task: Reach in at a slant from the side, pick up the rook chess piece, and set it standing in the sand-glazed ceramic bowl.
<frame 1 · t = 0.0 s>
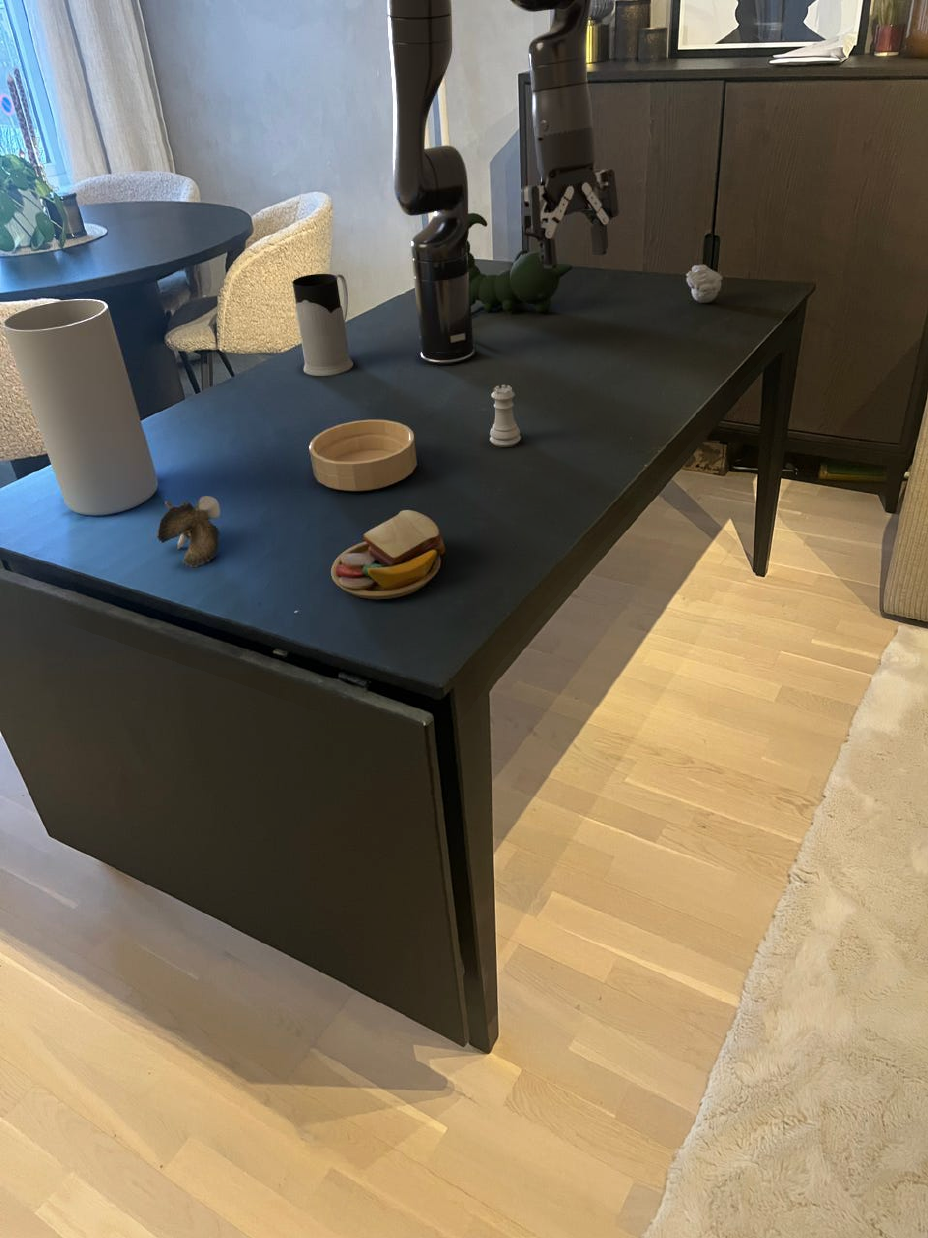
hand: (575, 261, 128), 22 cm above the table, tool pointing down, fingers open, 8 cm apart
bowl: (366, 470, 131), on the table
white lumpy rounded piece: (702, 303, 180), on the table
cylinder vase: (114, 497, 130), on the table
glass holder: (335, 362, 168), on the table
rook chess piece: (505, 442, 135), on the table
toy sandwich meal: (389, 571, 109), on the table
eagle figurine: (195, 549, 116), on the table
toy figurine: (511, 310, 185), on the table
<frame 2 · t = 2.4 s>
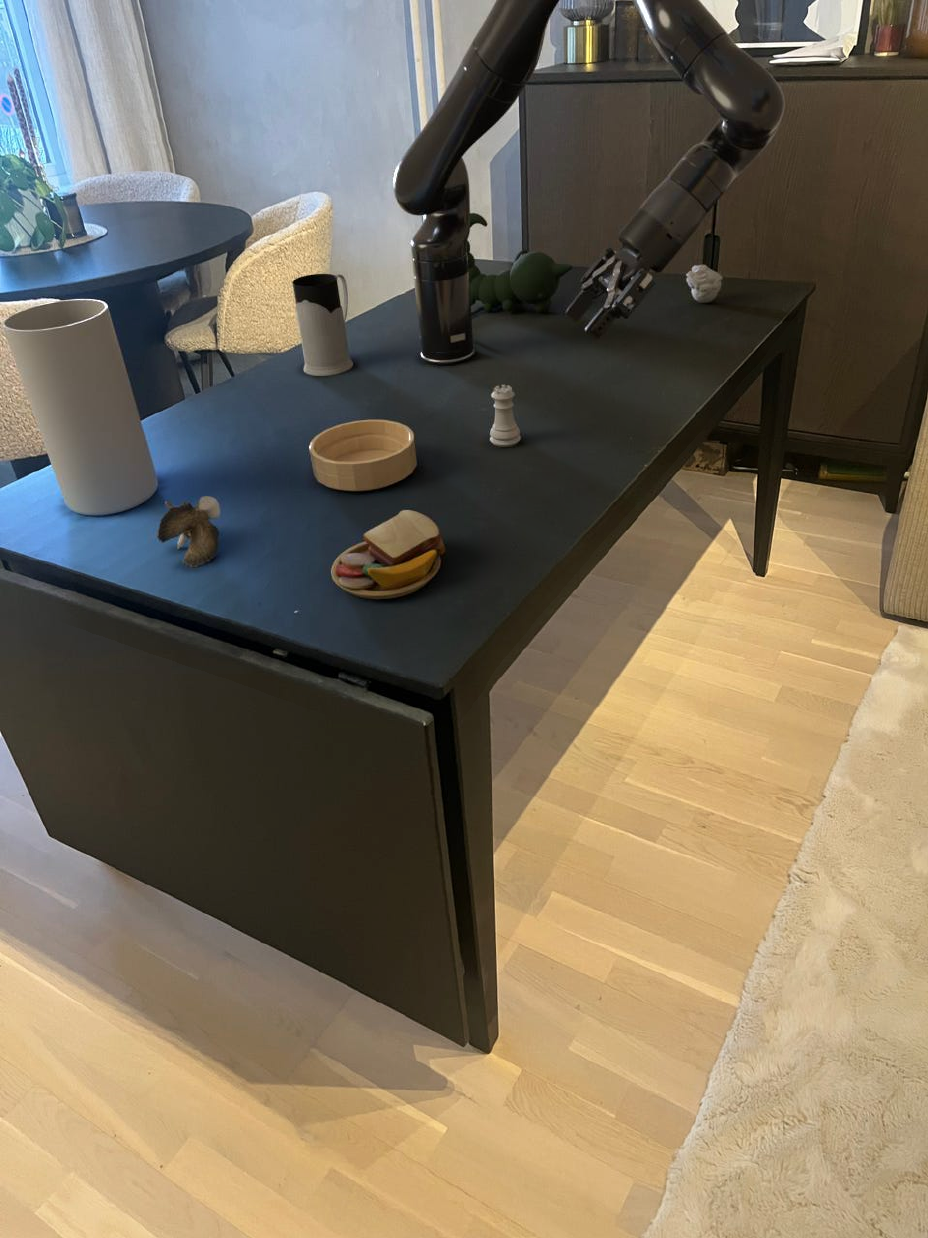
hand: (579, 326, 128), 15 cm above the table, tool tilted 45°, fingers open, 8 cm apart
nothing on the table moved.
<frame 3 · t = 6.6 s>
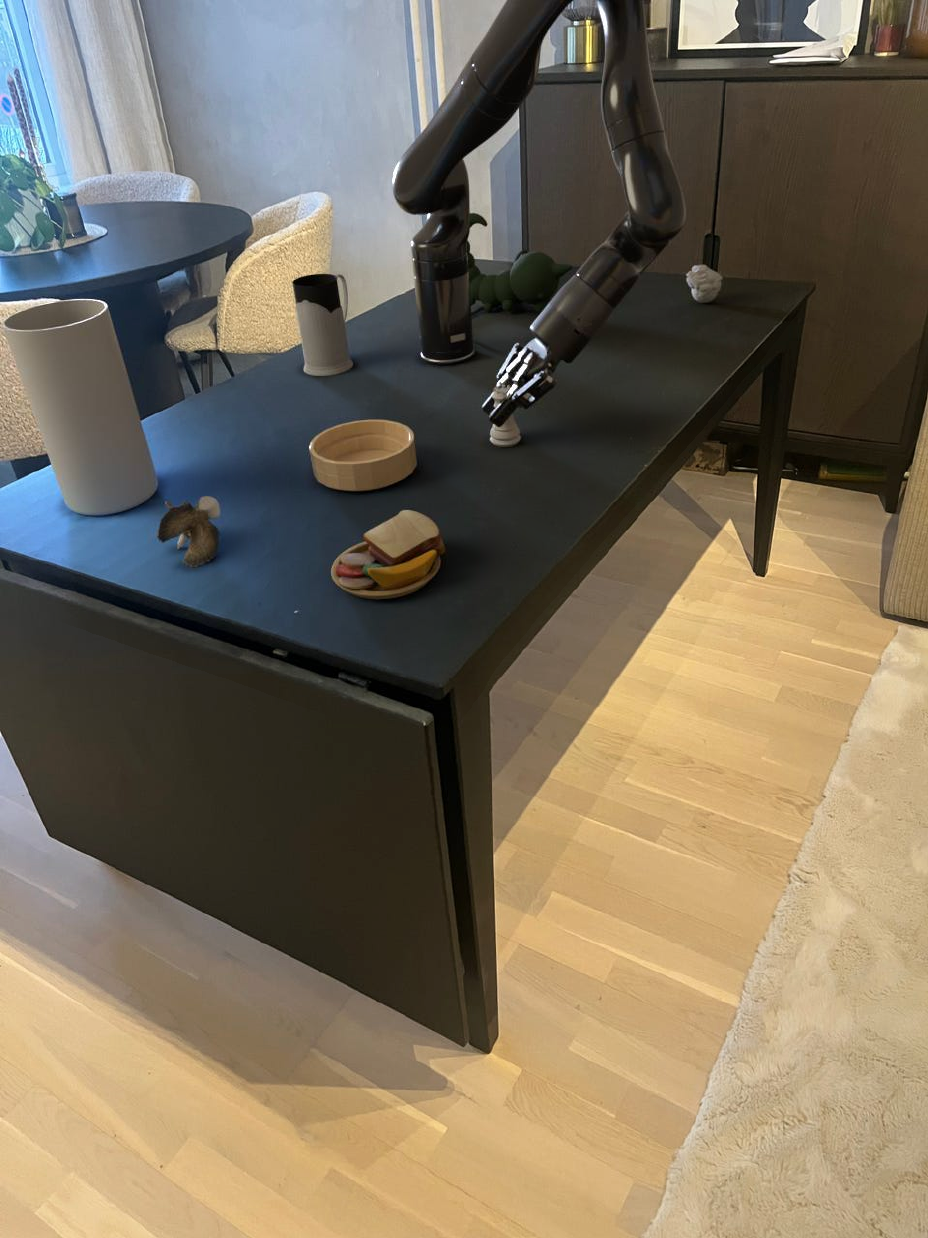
hand: (490, 417, 132), 4 cm above the table, tool tilted 45°, fingers closed on rook chess piece, 3 cm apart
rook chess piece: (505, 442, 135), on the table, touching gripper
everything else where it was.
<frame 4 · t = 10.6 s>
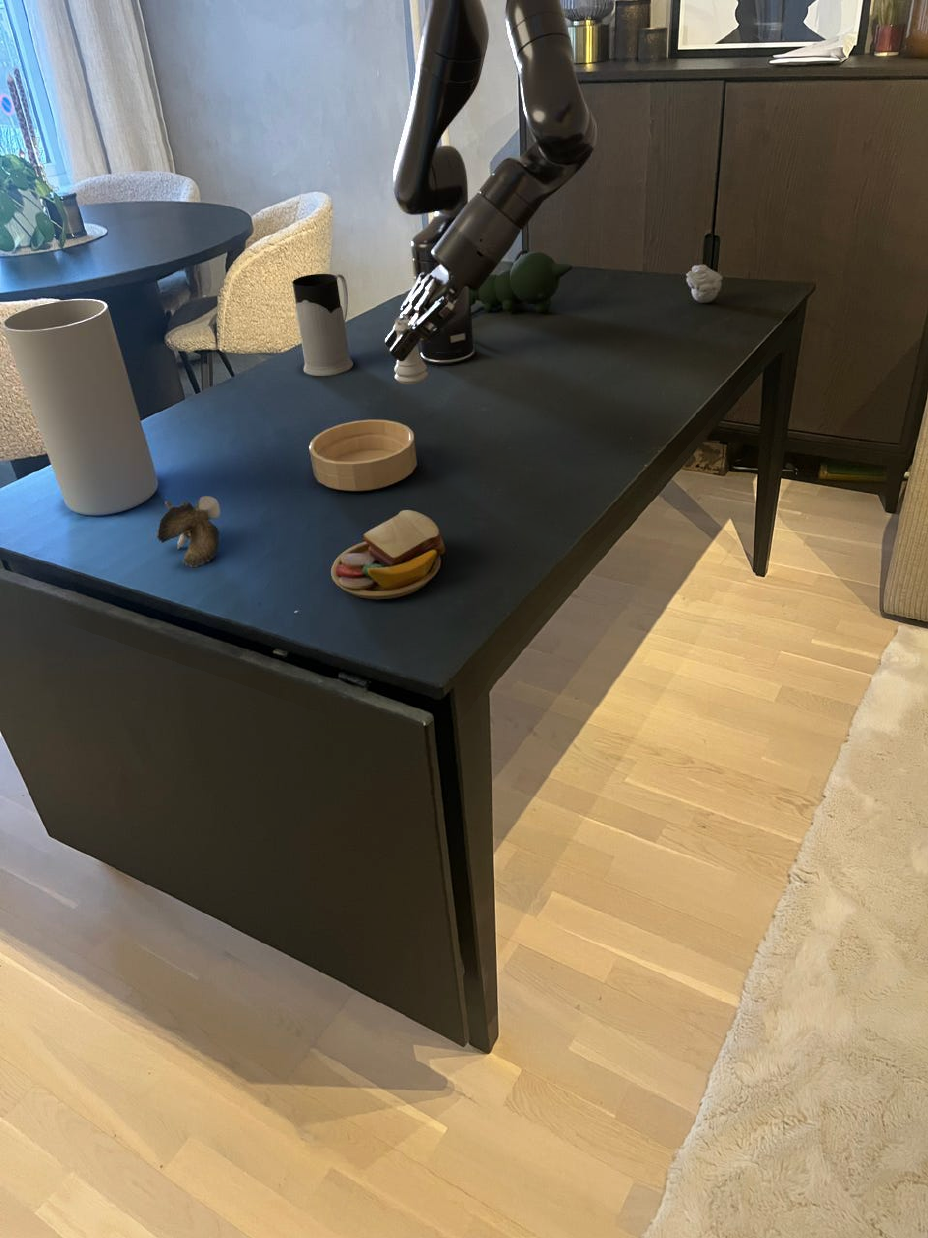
hand: (393, 351, 123), 16 cm above the table, tool tilted 45°, fingers closed on rook chess piece, 3 cm apart
rook chess piece: (411, 380, 126), point 12 cm above the table, touching gripper
everything else where it was.
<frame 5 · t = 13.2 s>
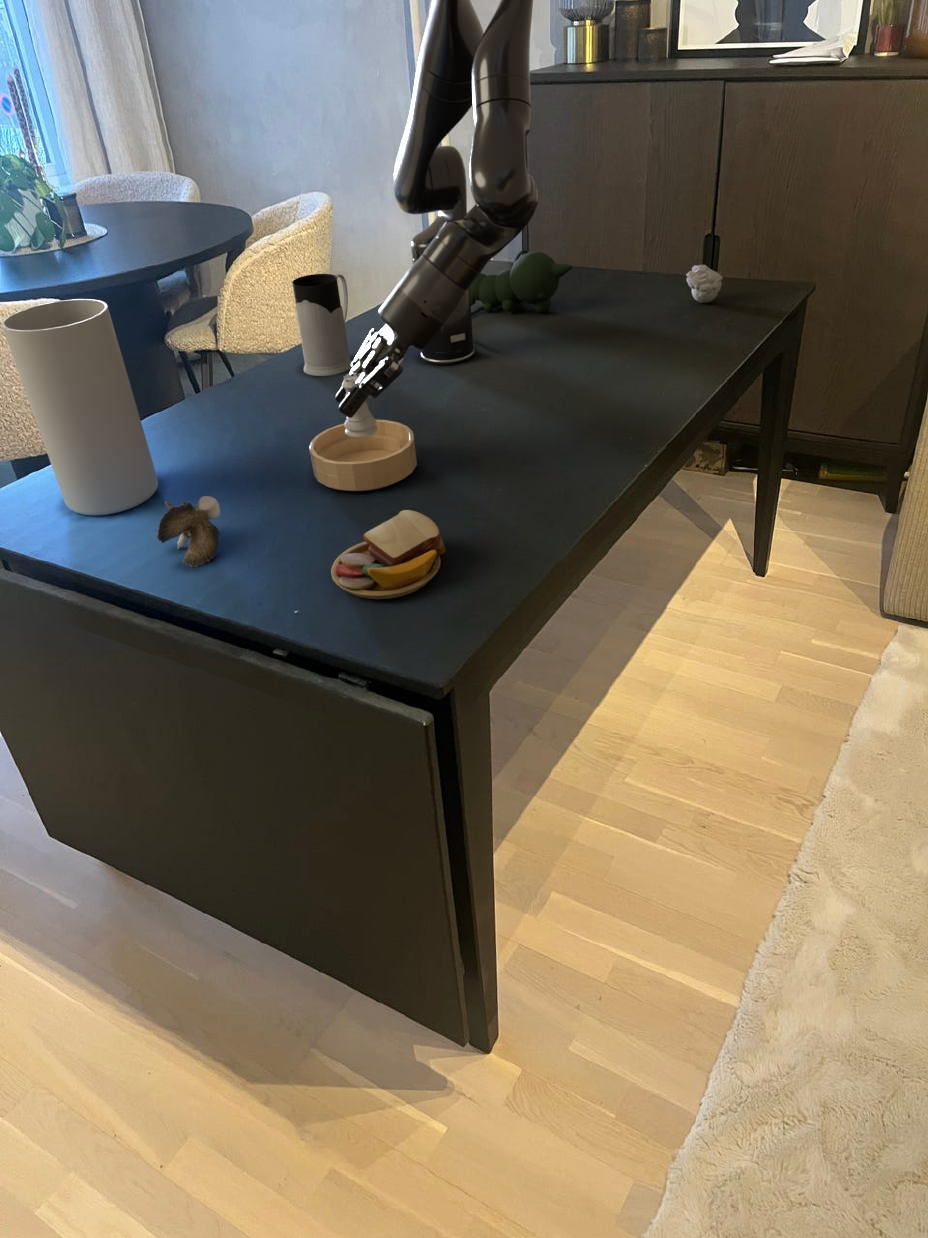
hand: (342, 407, 125), 10 cm above the table, tool tilted 45°, fingers closed on rook chess piece, 3 cm apart
rook chess piece: (362, 434, 127), point 5 cm above the table, touching gripper
everything else where it was.
when the fingers open (5 cm above the table, at t = 14.9 s): rook chess piece stays where it is, resting on bowl.
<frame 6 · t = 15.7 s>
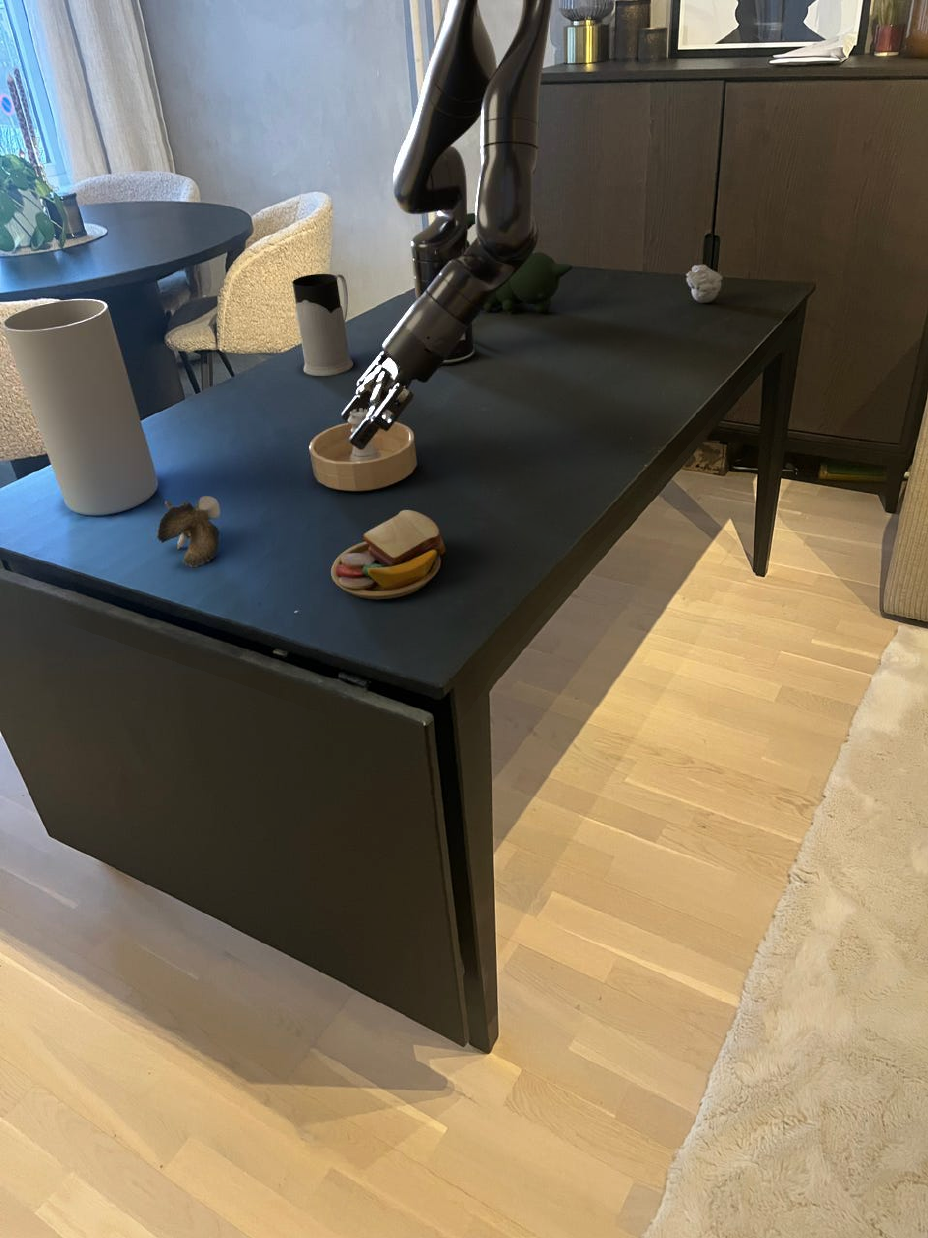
hand: (350, 433, 127), 6 cm above the table, tool tilted 45°, fingers open, 8 cm apart
rook chess piece: (367, 467, 130), resting on bowl
everything else where it was.
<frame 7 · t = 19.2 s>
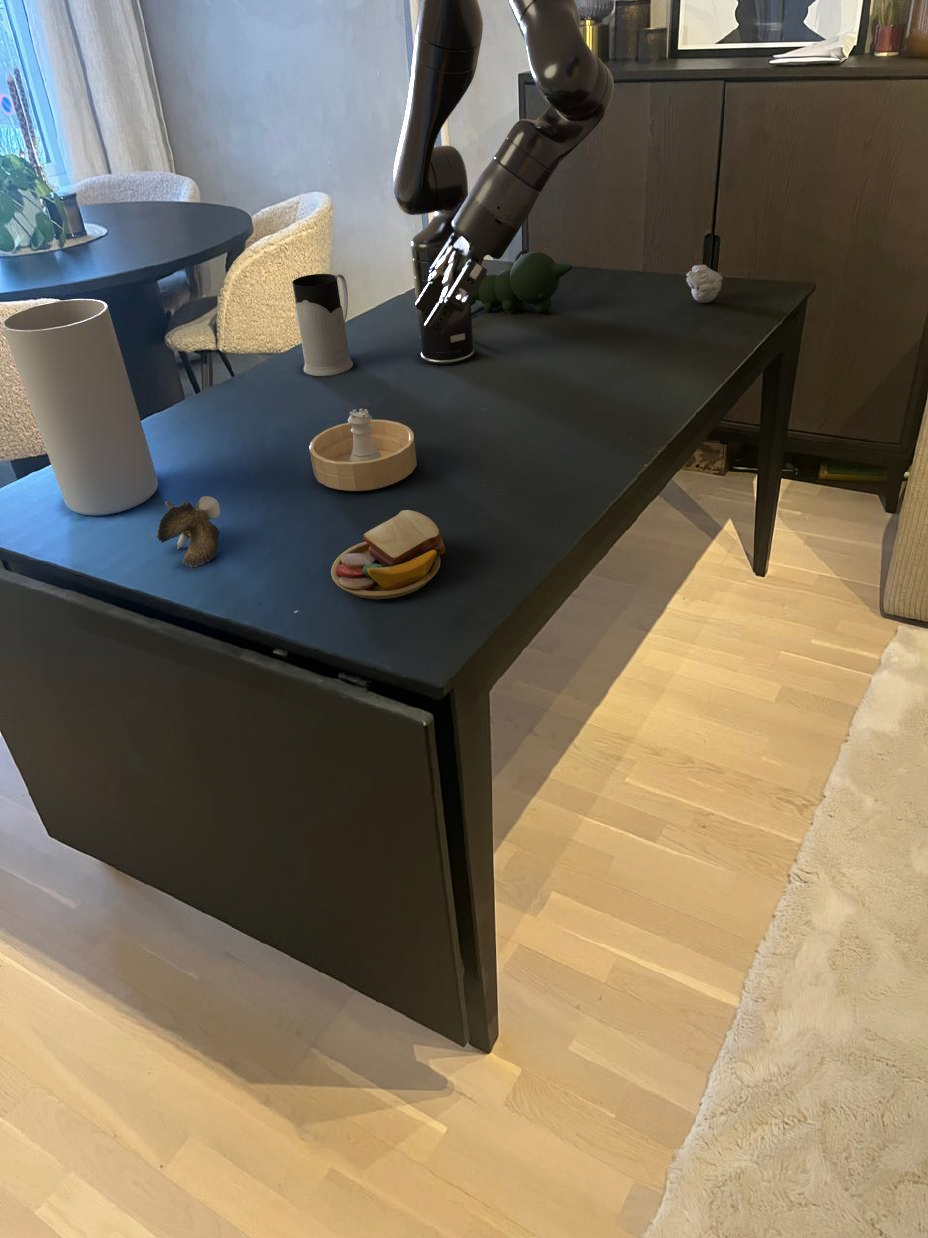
hand: (425, 320, 123), 19 cm above the table, tool tilted 40°, fingers open, 8 cm apart
nothing on the table moved.
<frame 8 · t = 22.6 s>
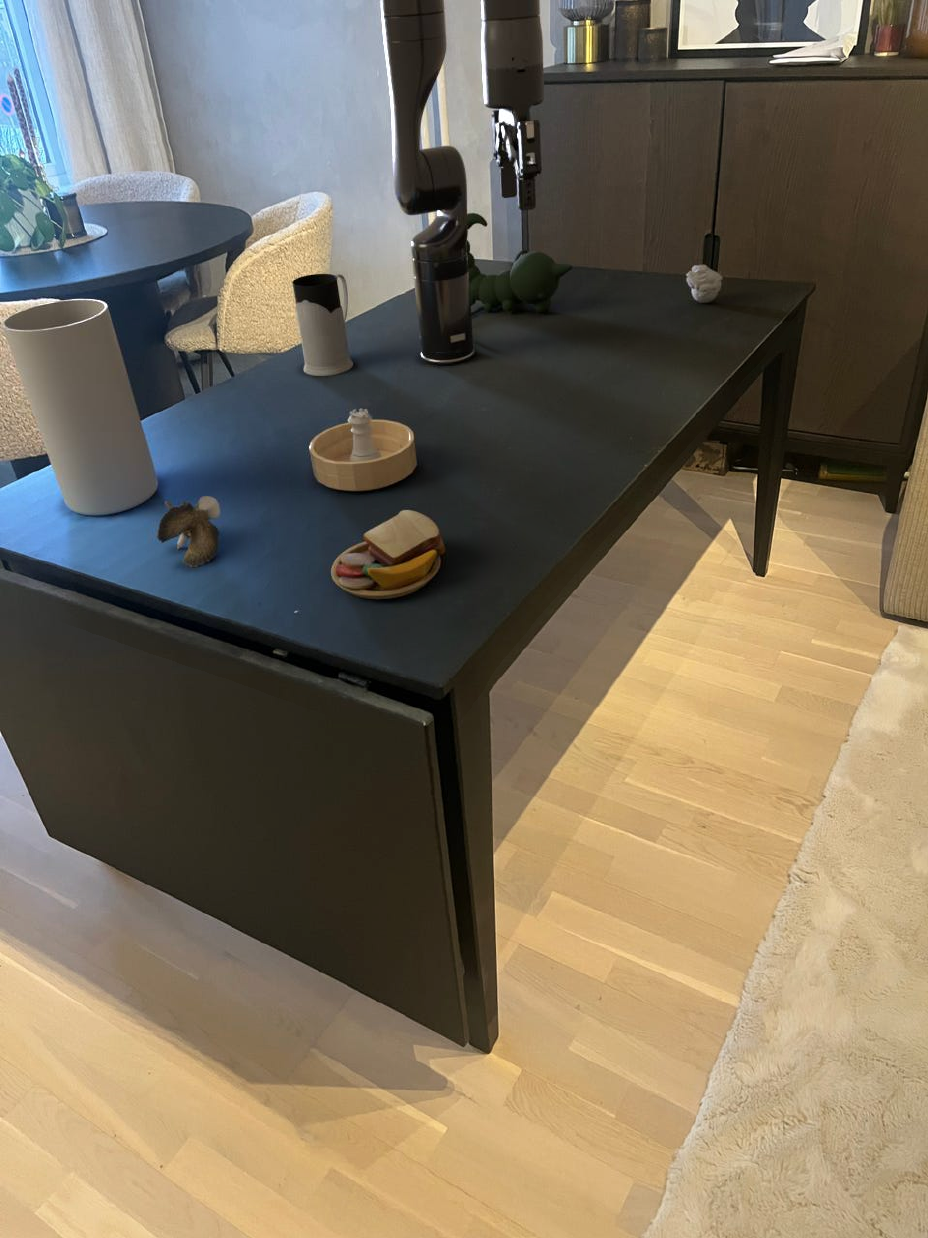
hand: (517, 203, 124), 30 cm above the table, tool pointing down, fingers open, 8 cm apart
nothing on the table moved.
at the end: rook chess piece inside the target area in the bowl (0.2 cm from its centre), point 0.4 cm above the bowl's base; rook chess piece tilted 0° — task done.
